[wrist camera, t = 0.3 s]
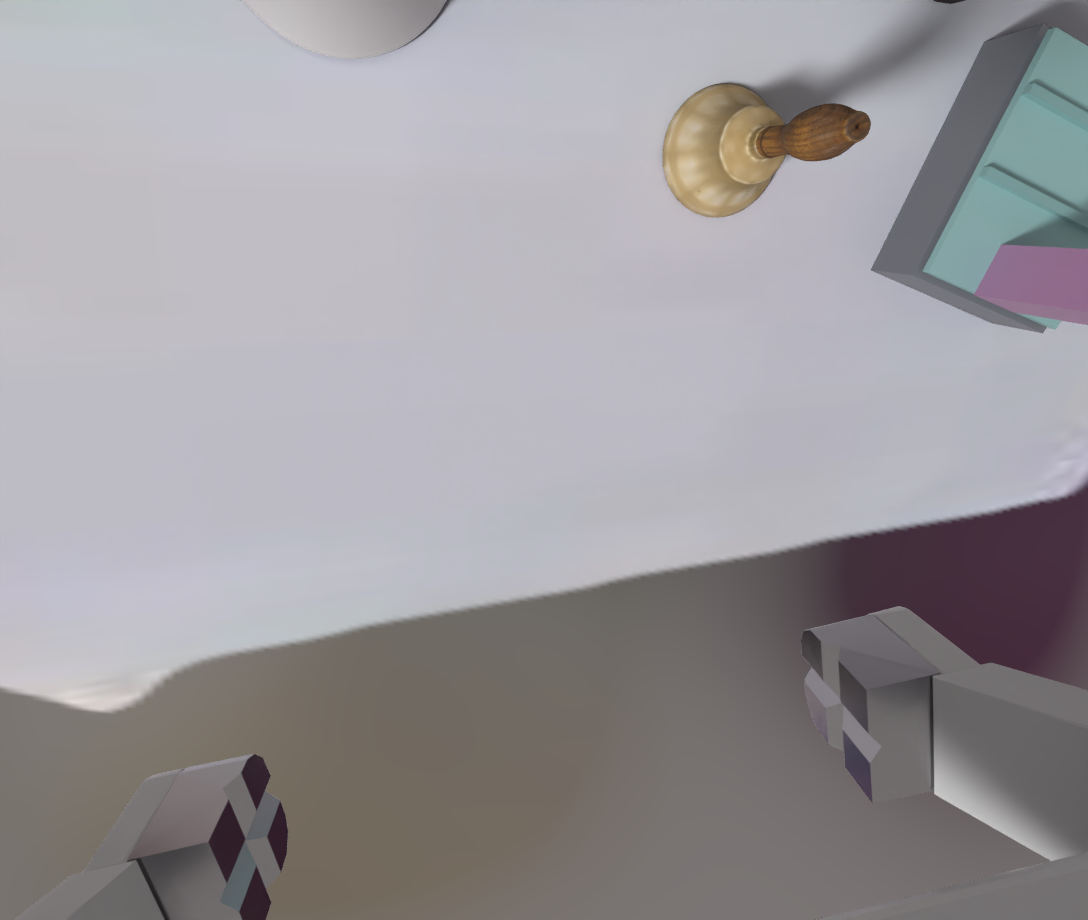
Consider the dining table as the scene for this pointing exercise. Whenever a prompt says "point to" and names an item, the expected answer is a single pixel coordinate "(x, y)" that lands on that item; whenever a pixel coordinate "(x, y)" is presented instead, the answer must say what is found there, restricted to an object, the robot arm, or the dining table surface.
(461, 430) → the dining table surface
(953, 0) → the bottle
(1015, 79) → the tray
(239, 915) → the robot arm
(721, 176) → the hand bell
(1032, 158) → the lid
